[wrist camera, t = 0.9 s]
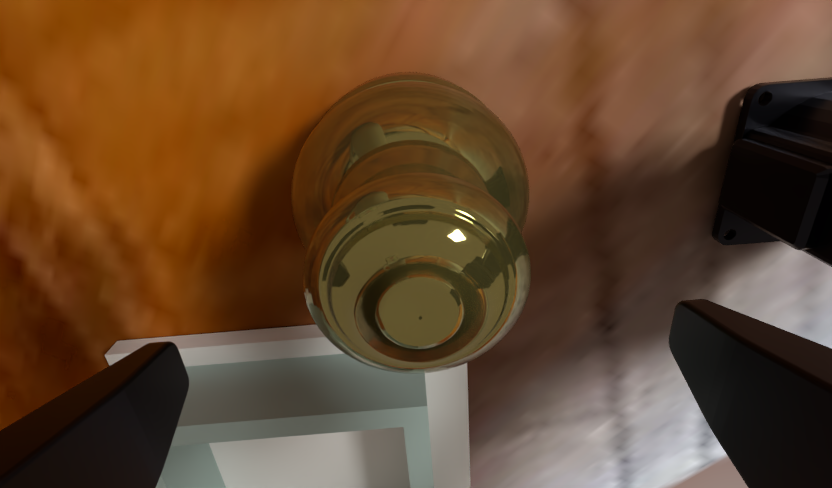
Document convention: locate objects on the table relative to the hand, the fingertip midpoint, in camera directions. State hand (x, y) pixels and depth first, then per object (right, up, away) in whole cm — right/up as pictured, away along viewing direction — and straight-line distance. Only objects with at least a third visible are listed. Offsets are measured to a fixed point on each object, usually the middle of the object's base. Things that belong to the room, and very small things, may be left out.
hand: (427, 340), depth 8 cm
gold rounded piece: (-1, +5, +10) cm, 11 cm away
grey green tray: (-6, -8, +16) cm, 19 cm away
